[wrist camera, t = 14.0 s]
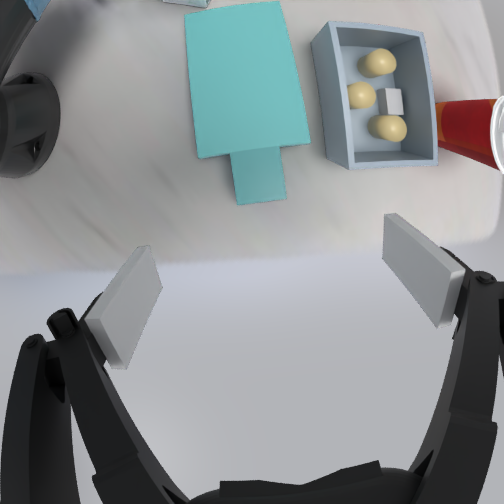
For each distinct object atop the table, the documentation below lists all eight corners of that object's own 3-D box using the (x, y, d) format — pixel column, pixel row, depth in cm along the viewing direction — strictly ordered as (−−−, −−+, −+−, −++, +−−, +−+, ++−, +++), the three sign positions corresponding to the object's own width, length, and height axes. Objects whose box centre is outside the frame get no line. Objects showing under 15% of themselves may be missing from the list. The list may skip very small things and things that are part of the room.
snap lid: (308, 196, 32) (318, 194, 26) (215, 208, 32) (205, 210, 27) (277, 26, 28) (279, 1, 22) (194, 38, 29) (184, 14, 23)
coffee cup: (470, 135, 29) (549, 155, 15) (436, 167, 31) (516, 200, 17) (442, 83, 26) (524, 81, 12) (405, 113, 28) (488, 120, 15)
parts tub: (402, 154, 31) (437, 165, 23) (326, 158, 31) (348, 169, 24) (389, 46, 25) (422, 32, 17) (310, 42, 25) (328, 21, 18)
